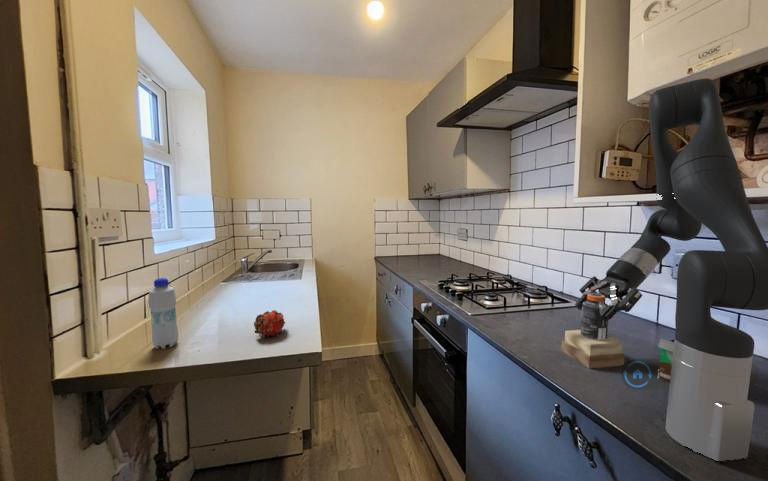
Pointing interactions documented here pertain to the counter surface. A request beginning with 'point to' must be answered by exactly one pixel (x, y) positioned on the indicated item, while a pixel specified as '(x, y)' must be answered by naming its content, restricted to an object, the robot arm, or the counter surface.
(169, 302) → the bottle
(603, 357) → the tower base
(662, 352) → the food container
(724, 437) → the robot arm
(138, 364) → the counter surface
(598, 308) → the pill bottle
